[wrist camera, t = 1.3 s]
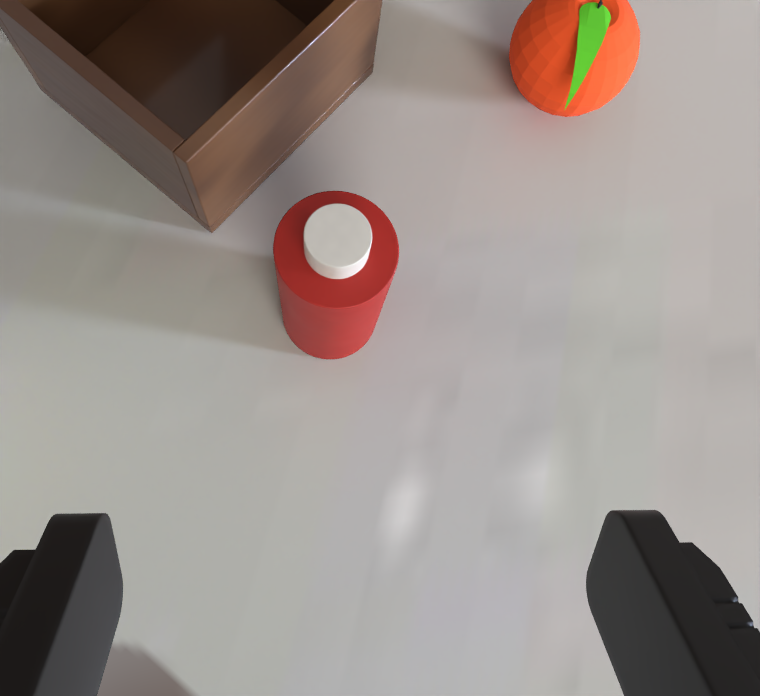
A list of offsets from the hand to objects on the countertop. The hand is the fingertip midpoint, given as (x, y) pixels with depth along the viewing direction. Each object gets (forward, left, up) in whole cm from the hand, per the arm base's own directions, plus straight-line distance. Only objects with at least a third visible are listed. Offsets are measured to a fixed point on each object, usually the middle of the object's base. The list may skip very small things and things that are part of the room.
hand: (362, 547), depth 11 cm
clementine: (+27, +6, -24) cm, 36 cm away
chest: (+14, +21, -23) cm, 34 cm away
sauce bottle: (+8, +7, -23) cm, 26 cm away
